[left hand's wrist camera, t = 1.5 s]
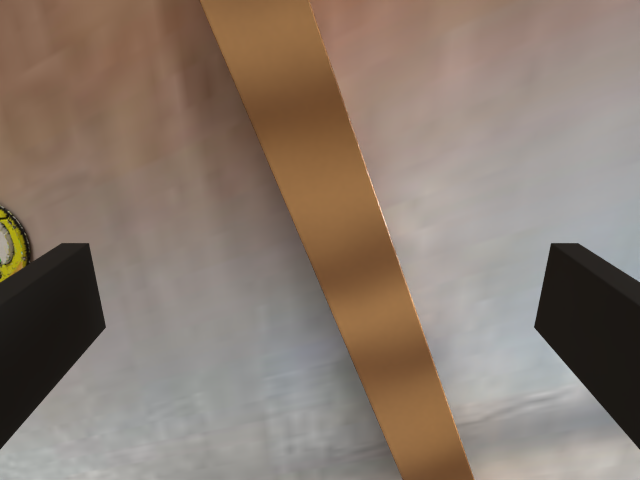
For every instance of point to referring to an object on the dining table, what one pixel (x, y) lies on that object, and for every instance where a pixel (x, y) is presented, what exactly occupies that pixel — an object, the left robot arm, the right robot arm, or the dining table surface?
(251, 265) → the dining table surface
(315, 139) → the post
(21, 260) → the toy
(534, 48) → the dining table surface
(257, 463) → the dining table surface
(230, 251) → the dining table surface
